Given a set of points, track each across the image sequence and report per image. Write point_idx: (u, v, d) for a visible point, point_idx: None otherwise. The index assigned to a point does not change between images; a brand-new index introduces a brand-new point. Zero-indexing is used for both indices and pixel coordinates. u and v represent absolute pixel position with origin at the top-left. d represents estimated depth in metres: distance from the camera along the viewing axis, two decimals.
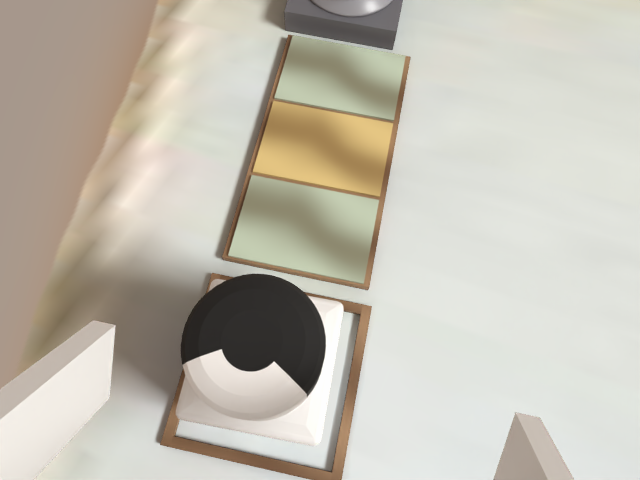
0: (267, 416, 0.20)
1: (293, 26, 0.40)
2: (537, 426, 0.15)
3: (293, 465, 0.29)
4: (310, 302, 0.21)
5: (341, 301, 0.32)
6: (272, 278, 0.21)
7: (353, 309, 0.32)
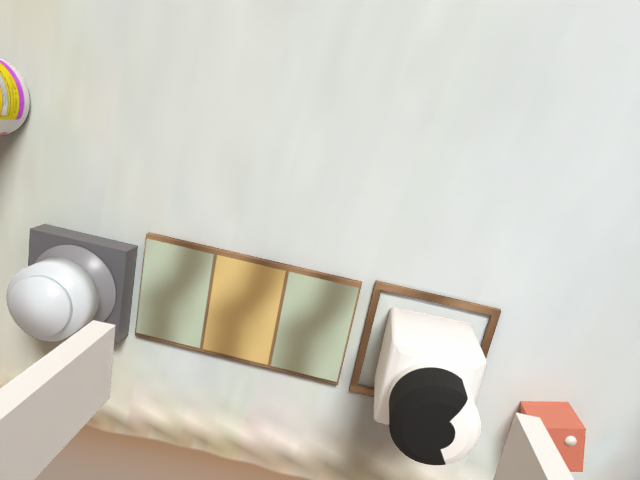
0: (479, 420, 0.33)
1: (125, 330, 0.47)
2: (537, 426, 0.15)
3: (485, 339, 0.43)
4: (409, 393, 0.33)
5: (371, 303, 0.43)
6: (393, 416, 0.33)
7: (378, 295, 0.43)
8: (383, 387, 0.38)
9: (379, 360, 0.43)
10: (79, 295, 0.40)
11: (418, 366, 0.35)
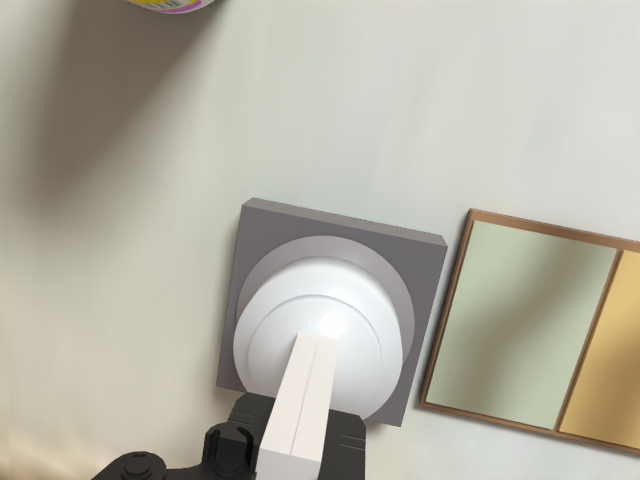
0: None
1: None
2: (331, 344, 0.17)
3: None
4: None
5: None
6: None
7: None
8: None
9: None
10: (399, 337, 0.19)
11: None
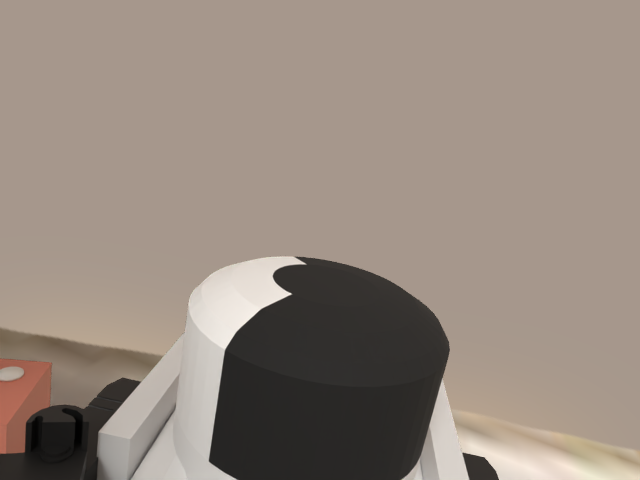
0: (190, 307, 0.11)
1: None
2: None
3: None
4: (421, 372, 0.10)
5: None
6: (443, 331, 0.11)
7: None
8: None
9: None
10: None
11: None
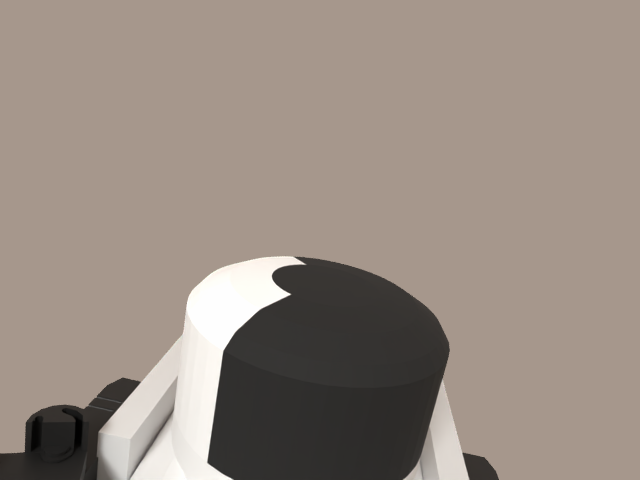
0: (189, 308, 0.10)
1: None
2: None
3: None
4: (421, 372, 0.10)
5: None
6: (443, 332, 0.11)
7: None
8: None
9: None
10: None
11: None
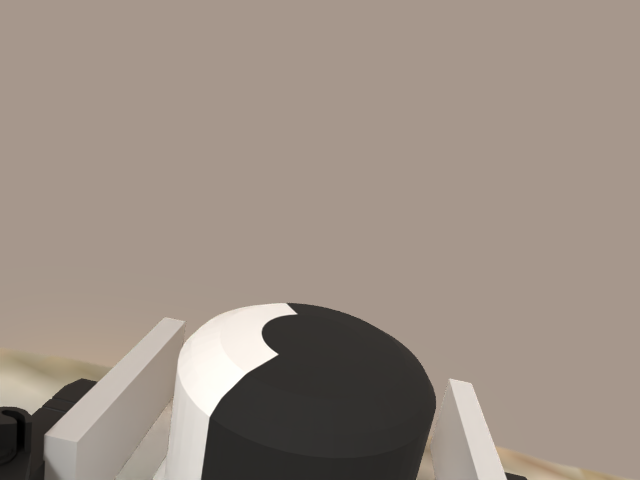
0: (179, 366, 0.11)
1: None
2: (466, 390, 0.16)
3: None
4: (403, 438, 0.10)
5: None
6: (430, 388, 0.11)
7: None
8: None
9: None
10: None
11: None
